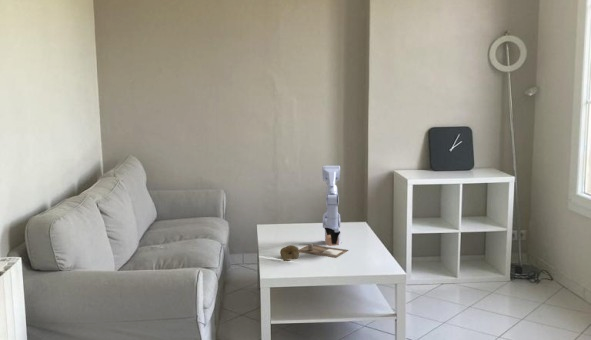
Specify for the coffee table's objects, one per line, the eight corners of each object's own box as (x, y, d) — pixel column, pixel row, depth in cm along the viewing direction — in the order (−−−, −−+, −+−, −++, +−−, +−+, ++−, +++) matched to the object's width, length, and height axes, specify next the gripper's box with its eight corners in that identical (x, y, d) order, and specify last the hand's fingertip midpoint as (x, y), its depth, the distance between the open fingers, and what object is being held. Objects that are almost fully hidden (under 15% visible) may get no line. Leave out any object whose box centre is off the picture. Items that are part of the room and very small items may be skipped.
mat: (329, 249, 323) (329, 248, 323) (342, 251, 319) (342, 250, 319) (322, 253, 316) (322, 252, 316) (335, 255, 312) (335, 254, 312)
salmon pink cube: (335, 242, 320) (335, 234, 320) (338, 245, 315) (338, 236, 314) (325, 243, 319) (325, 235, 318) (328, 245, 314) (328, 237, 313)
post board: (309, 246, 334) (309, 238, 333) (349, 251, 322) (349, 243, 321) (295, 253, 320) (295, 245, 319) (335, 259, 308) (335, 251, 307)
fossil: (278, 247, 311) (296, 242, 312) (278, 251, 314) (297, 246, 316) (282, 262, 305) (301, 257, 307) (283, 266, 309) (302, 261, 310)
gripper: (320, 214, 321) (320, 239, 323) (329, 220, 307) (329, 246, 309) (333, 213, 323) (333, 238, 325) (342, 219, 309) (342, 245, 311)
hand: (332, 242), depth 317 cm, fingers closed on salmon pink cube, 5 cm apart
